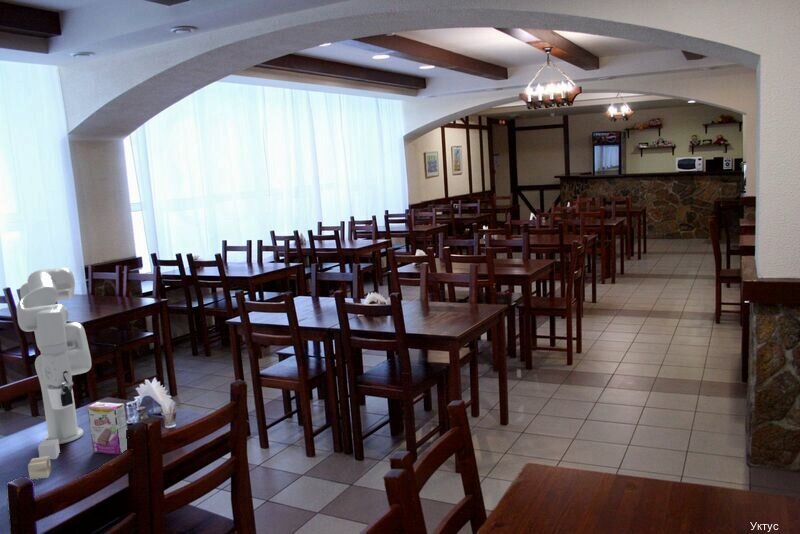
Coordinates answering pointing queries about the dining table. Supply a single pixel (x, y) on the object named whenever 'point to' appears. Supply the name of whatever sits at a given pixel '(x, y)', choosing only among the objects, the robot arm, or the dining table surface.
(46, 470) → the birch block
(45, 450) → the grey block
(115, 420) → the candy bar box
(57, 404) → the white cup
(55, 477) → the dining table surface
